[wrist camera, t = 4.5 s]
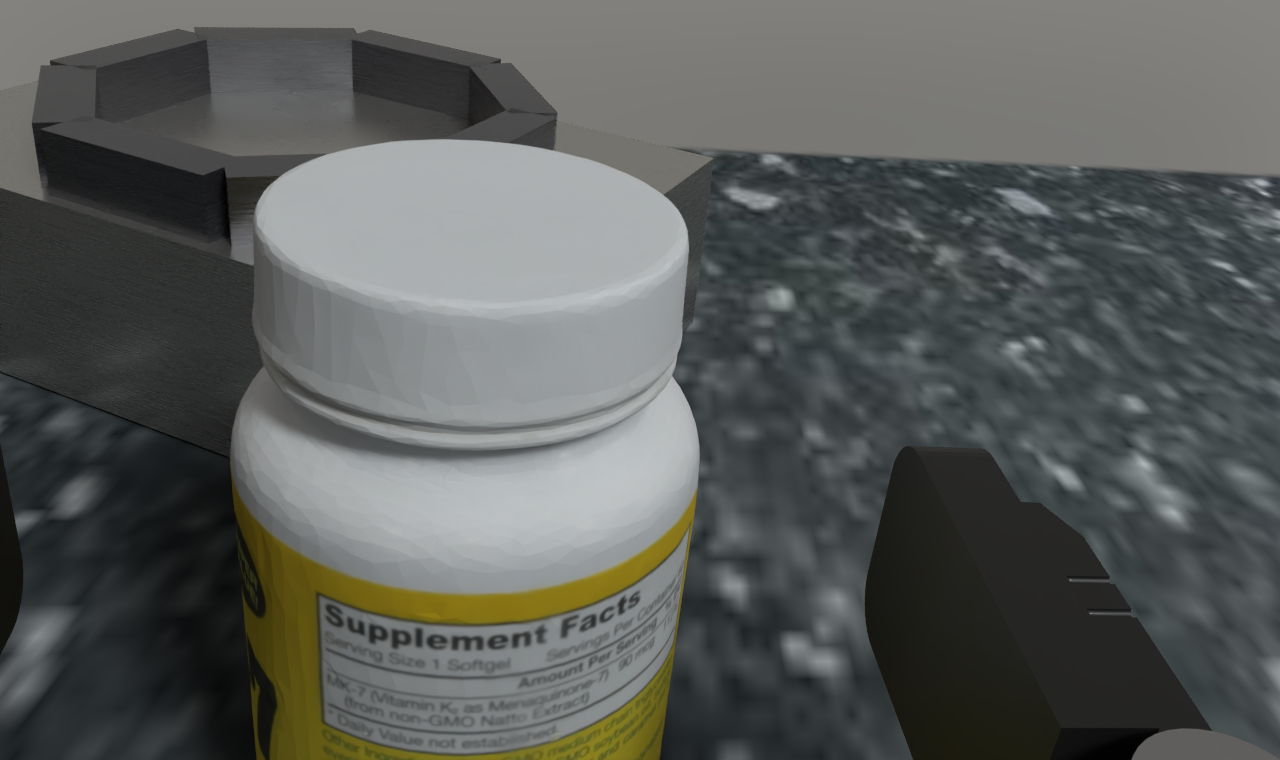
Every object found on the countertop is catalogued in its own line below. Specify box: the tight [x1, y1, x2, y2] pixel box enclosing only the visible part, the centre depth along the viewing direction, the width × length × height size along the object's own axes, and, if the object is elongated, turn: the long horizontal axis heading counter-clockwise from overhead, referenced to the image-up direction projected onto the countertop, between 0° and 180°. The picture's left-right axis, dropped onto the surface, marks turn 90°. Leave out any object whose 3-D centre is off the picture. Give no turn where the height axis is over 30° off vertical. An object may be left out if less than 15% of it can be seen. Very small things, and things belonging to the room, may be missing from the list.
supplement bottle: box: [230, 139, 699, 760], centre depth 13 cm, size 5×5×8 cm
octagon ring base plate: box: [0, 27, 714, 457], centre depth 25 cm, size 14×10×5 cm
